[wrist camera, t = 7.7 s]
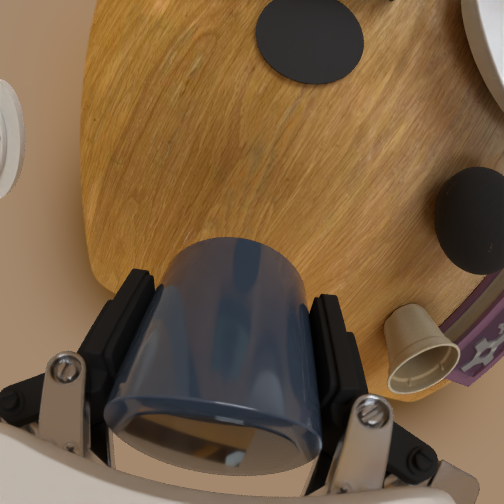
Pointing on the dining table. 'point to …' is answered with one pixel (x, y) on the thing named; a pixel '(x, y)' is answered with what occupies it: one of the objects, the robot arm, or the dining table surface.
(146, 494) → the robot arm
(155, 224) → the dining table surface
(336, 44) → the coaster
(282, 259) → the tumbler
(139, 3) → the dining table surface
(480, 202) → the speaker
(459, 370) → the book
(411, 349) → the flower pot
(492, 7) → the serving bowl
